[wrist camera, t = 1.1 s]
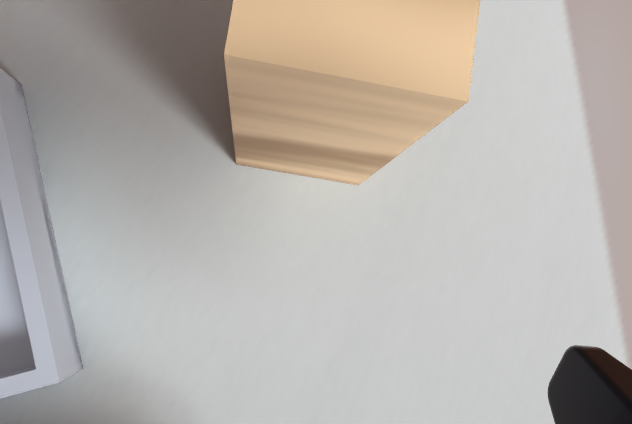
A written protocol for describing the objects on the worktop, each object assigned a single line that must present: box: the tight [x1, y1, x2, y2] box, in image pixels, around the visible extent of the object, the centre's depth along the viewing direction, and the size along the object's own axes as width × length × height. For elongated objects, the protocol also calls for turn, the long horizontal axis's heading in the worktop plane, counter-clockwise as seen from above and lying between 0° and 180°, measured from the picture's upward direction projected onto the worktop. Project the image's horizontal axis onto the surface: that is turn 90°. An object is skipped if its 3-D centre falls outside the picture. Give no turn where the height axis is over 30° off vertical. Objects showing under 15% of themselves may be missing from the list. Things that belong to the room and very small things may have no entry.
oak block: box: [224, 0, 480, 185], centre depth 16 cm, size 5×5×11 cm
